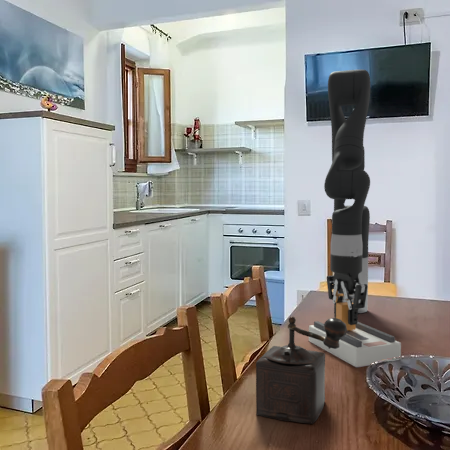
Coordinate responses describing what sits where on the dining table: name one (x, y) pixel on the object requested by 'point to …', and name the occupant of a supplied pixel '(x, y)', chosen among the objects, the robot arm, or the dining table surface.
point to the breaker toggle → (343, 314)
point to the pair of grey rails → (364, 328)
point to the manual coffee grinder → (295, 376)
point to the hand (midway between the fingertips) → (345, 321)
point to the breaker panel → (363, 355)
